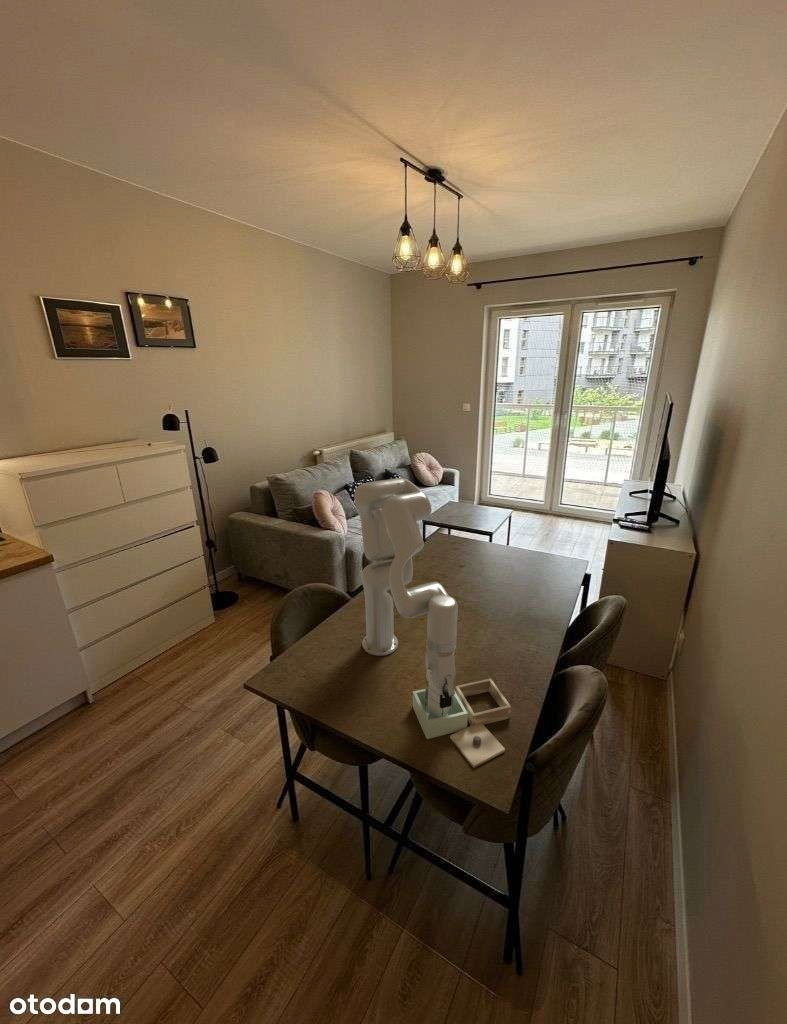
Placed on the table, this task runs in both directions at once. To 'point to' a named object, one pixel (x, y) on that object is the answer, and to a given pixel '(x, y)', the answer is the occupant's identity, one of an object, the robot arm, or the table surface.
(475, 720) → the frame
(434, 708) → the syrup box
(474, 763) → the lid
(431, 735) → the bin
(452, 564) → the table surface
